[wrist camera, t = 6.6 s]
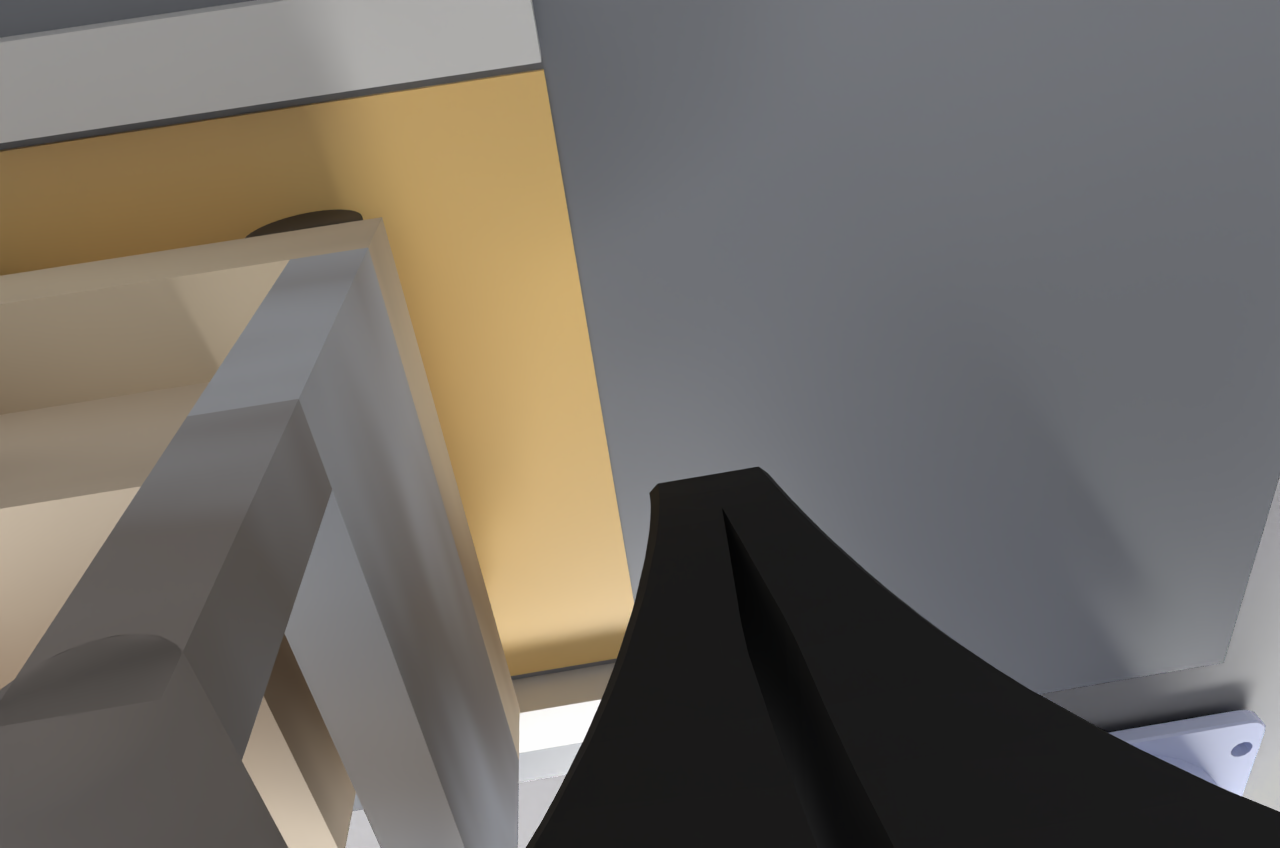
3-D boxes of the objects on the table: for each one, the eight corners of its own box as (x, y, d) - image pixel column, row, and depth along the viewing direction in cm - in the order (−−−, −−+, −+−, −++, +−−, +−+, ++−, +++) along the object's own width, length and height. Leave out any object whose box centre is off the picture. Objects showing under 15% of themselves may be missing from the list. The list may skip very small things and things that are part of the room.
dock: (1164, 596, 20) (1251, 693, 17) (164, 764, 19) (113, 888, 17) (1385, -336, 12) (1608, -395, 9) (-352, -90, 11) (-596, -84, 9)
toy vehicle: (526, 643, 15) (521, 1383, 8) (109, 713, 15) (-314, 1539, 8) (406, 181, 11) (141, 790, 4) (-169, 268, 11) (-1723, 1105, 3)
